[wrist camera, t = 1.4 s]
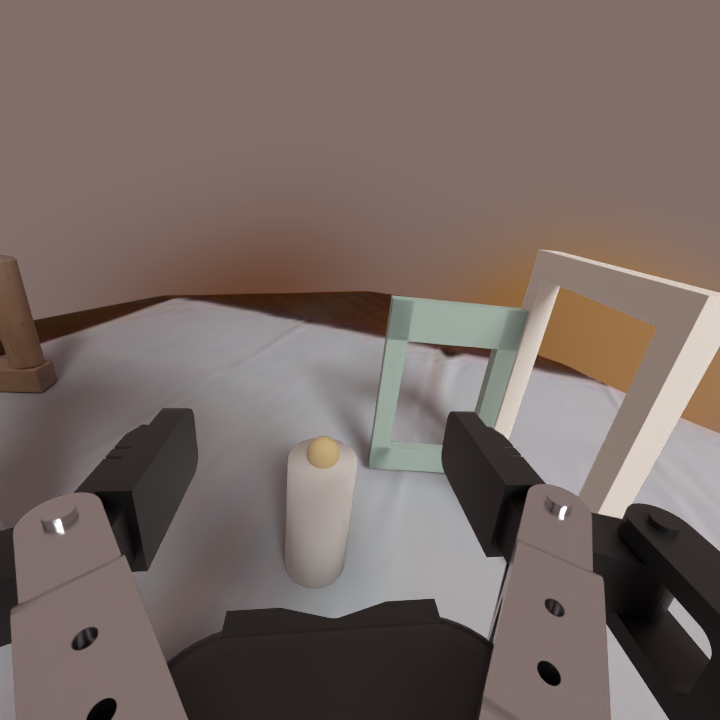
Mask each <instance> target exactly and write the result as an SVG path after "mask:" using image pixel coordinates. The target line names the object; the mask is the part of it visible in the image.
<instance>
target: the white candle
mask: <svg viewBox="0 0 720 720" xmlns="http://www.w3.org/2000/svg"><path fill="white" fill-rule="evenodd" d="M356 470H357V457H356V454H355V453H354V451H353V450H352V449H351V448H350V447H349V446H348V445H346V444H344V443H342V442H340V441H338V440H334V439H332V438H330V437H326V436H322V437H318V438H314V439H309V440H306V441H303V442H301V443H299V444H298V445H296V446H295V447H294V448H293V449H292V450H291V451H290V453H289V456H288V468H287V503H286V538H285V567H286V571H287V573H288V575H289V576H290V578H291V579H292V580H293V581H294V582H296V583H297V584H299V585H301V586H303V587H307V588H321V587H324V586H327V585H329V584H331V583H332V582H334V581H335V580H336V579H337V578H338V577H339V575H340V574H341V572H342V570H343V568H344V563H345V555H346V548H347V540H348V532H349V524H350V517H351V509H352V501H353V493H354V486H355V478H356Z"/></svg>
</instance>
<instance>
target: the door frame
mask: <svg viewBox="0 0 720 720" xmlns="http://www.w3.org/2000/svg"><path fill="white" fill-rule="evenodd" d="M560 286H561V287H563V288H566V289H568V290H570V291H573V292H575V293H578V294H580V295H582V296H585V297H587V298H589V299H592V300H594V301H597V302H599V303H601V304H604V305H606V306H608V307H611V308H613V309H616V310H618V311H620V312H623V313H625V314H628V315H630V316H632V317H635V318H637V319H639V320H642V321H644V322H647V323H649V324H651V325H654V326H656V327H658V328H657V330H656V332H655V334H654V336H653V339H652V341H651V343H650V346H649V347H648V349H647V351H646V353H645V356H644V358H643V360H642V362H641V364H640V366H639V368H638V371H637V373H636V375H635V377H634V379H633V381H632V383H631V385H630V388H629V390H628V392H627V394H626V396H625V398H624V400H623V402H622V405H621V407H620V409H619V411H618V413H617V415H616V417H615V419H614V422H613V424H612V426H611V428H610V430H609V432H608V434H607V436H606V439H605V441H604V443H603V445H602V447H601V449H600V451H599V453H598V456H597V458H596V460H595V462H594V464H593V466H592V468H591V470H590V473H589V475H588V477H587V479H586V481H585V483H584V485H583V487H582V490H581V492H580V494H579V496H578V497H579V498H580V499H581V500H582V501H583V502H584V503H585V504H586V505H587V506H588V508H589V509H590V511H591V512H592V513H597V514H602V515H606V516H611V517H616V518H620V519H622V518H623V516H624V513H625V511H626V509H627V507H628V506H629V505H631V504H632V502H633V500H634V499H635V497H636V495H637V493H638V491H639V490H640V488H641V486H642V484H643V482H644V481H645V479H646V477H647V475H648V474H649V472H650V470H651V468H652V466H653V465H654V463H655V461H656V459H657V457H658V456H659V454H660V452H661V450H662V448H663V447H664V445H665V443H666V441H667V439H668V438H669V436H670V434H671V432H672V430H673V429H674V427H675V425H676V423H677V421H678V420H679V418H680V416H681V414H682V412H683V410H684V409H685V407H686V405H687V404H688V401H689V400H690V398H691V396H692V395H693V393H694V391H695V389H696V387H697V386H698V384H699V382H700V380H701V378H702V376H703V375H704V373H705V371H706V369H707V367H708V366H709V364H710V362H711V360H712V359H713V357H714V355H715V353H716V351H717V349H718V348H719V346H720V293H718V292H714V291H710V290H706V289H702V288H699V287H694V286H691V285H687V284H683V283H679V282H675V281H671V280H667V279H664V278H660V277H656V276H652V275H648V274H644V273H640V272H636V271H632V270H629V269H625V268H621V267H617V266H613V265H609V264H605V263H601V262H597V261H594V260H590V259H586V258H582V257H578V256H574V255H570V254H567V253H562V252H558V251H549V250H539V252H538V255H537V259H536V262H535V265H534V269H533V272H532V275H531V279H530V282H529V285H528V289H527V292H526V295H525V299H524V302H523V305H522V308H524V309H525V310H527V311H528V312H529V315H528V318H527V321H526V324H525V328H524V331H523V334H522V337H521V340H520V344H519V347H518V350H517V353H516V357H515V360H514V363H513V366H512V370H511V373H510V376H509V379H508V382H507V386H506V389H505V392H504V395H503V399H502V402H501V405H500V408H499V411H498V415H497V418H496V421H495V424H494V428H493V429H495V430H496V431H498V432H499V433H501V434H502V435H504V436H505V437H506V438H507V439H509V436H510V433H511V430H512V428H513V425H514V422H515V419H516V416H517V413H518V410H519V407H520V404H521V401H522V398H523V395H524V392H525V389H526V386H527V383H528V380H529V377H530V374H531V371H532V368H533V365H534V362H535V359H536V356H537V353H538V350H539V347H540V344H541V341H542V338H543V335H544V332H545V329H546V326H547V323H548V320H549V317H550V314H551V311H552V308H553V305H554V302H555V299H556V296H557V293H558V290H559V287H560Z"/></svg>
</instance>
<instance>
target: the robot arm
mask: <svg viewBox="0 0 720 720" xmlns="http://www.w3.org/2000/svg"><path fill="white" fill-rule="evenodd" d="M441 461H442V467H443V470H444V473H445V475H446V477H447V479H448V481H449V483H450V485H451V487H452V489H453V491H454V493H455V495H456V497H457V499H458V501H459V503H460V505H461V507H462V509H463V511H464V513H465V515H466V517H467V519H468V521H469V523H470V525H471V527H472V529H473V531H474V533H475V535H476V537H477V539H478V541H479V543H480V545H481V547H482V549H483V551H484V553H485V555H486V557H501V556H503V557H504V558H505V560H506V562H507V563H506V567H505V570H504V574H503V578H502V582H501V586H500V590H499V594H498V598H497V602H496V606H495V610H494V614H493V618H492V622H491V626H490V630H489V634H488V638H487V639H486V638H485V637H483V636H482V635H480V634H479V633H477V632H475V631H474V630H472V629H470V628H468V627H466V626H464V625H462V624H460V623H458V622H455V621H452V620H449V619H446V618H441V617H440V616H439V613H438V609H437V606H436V603H435V600H434V599H422V600H405V601H388V602H384V603H381V604H378V605H375V606H372V607H369V608H366V609H363V610H360V611H357V612H355V613H352V614H349V615H346V616H343V617H340V618H326V617H322V616H317V615H312V614H307V613H303V612H298V611H293V610H288V609H283V608H271V609H254V610H237V611H227V613H226V617H225V621H224V625H223V630H222V631H221V632H218V633H215V634H212V635H210V636H208V637H206V638H204V639H202V640H199V641H198V642H196V643H194V644H193V645H191V646H189V647H187V648H186V649H184V650H183V651H181V652H180V653H179V654H177V655H176V656H174V657H173V658H172V659H170V660H169V661H168V662H167V663H166V661H165V658H164V656H163V653H162V650H161V648H160V645H159V643H158V640H157V637H156V635H155V632H154V629H153V627H152V624H151V622H150V619H149V616H148V614H147V611H146V609H145V606H144V603H143V601H142V598H141V596H140V593H139V590H138V588H137V585H136V582H135V580H134V577H133V575H132V572H137V571H148V569H149V567H150V565H151V563H152V561H153V559H154V557H155V554H156V552H157V550H158V548H159V546H160V544H161V542H162V540H163V538H164V536H165V534H166V532H167V530H168V528H169V526H170V523H171V521H172V519H173V517H174V515H175V513H176V511H177V509H178V507H179V505H180V503H181V501H182V499H183V497H184V495H185V493H186V490H187V488H188V486H189V484H190V482H191V480H192V478H193V476H194V474H195V471H196V467H197V462H198V449H197V440H196V431H195V421H194V414H193V411H192V409H190V408H163V409H162V410H161V411H160V412H159V413H158V415H157V416H156V417H155V418H154V419H153V421H152V422H151V423H150V424H149V425H141V426H139V427H138V428H136V429H134V430H133V431H131V432H129V433H128V434H126V435H125V436H124V437H123V438H122V439H121V440H120V441H119V443H118V444H117V445H116V446H115V449H112V450H111V452H110V453H109V454H108V455H107V456H106V459H103V460H102V462H101V463H100V464H99V465H98V466H97V467H96V468H95V469H94V471H93V472H92V473H91V474H90V475H89V476H88V477H87V478H86V480H85V481H84V482H83V483H82V484H81V485H80V486H79V487H78V489H77V490H76V491H75V492H74V493H70V494H66V495H62V496H59V497H55V498H53V499H50V500H48V501H46V502H44V503H42V504H40V505H38V506H36V507H35V508H33V509H32V510H30V511H29V512H28V513H26V514H25V515H24V516H23V517H22V518H21V519H20V520H19V521H18V523H17V524H16V526H15V527H14V528H11V529H7V528H6V525H5V523H4V520H3V518H2V516H1V513H0V647H1V646H4V645H7V644H10V643H12V658H13V676H14V694H15V712H16V720H611V711H610V691H609V672H608V652H607V633H606V624H607V626H608V627H609V629H610V630H611V632H612V633H613V635H614V636H615V638H616V639H617V641H618V642H619V644H620V645H621V647H622V648H623V650H624V651H625V653H626V654H627V656H628V657H629V659H630V661H631V662H632V664H633V665H634V667H635V668H636V670H637V671H638V673H639V674H640V676H641V677H642V679H643V680H644V682H645V683H646V685H647V686H648V688H649V689H650V691H651V692H652V694H653V696H654V697H655V699H656V700H657V702H658V703H659V705H660V706H661V708H662V709H663V711H664V712H665V714H666V715H667V717H668V718H669V720H720V551H719V550H717V549H716V548H715V547H714V546H713V545H712V544H711V543H709V542H708V541H707V540H706V539H705V538H704V537H703V536H701V535H700V534H699V533H698V532H697V531H696V530H695V529H693V528H692V527H691V526H690V525H689V524H687V523H686V522H685V521H683V520H682V519H680V518H679V517H677V516H675V515H674V514H672V513H670V512H668V511H666V510H663V509H661V508H658V507H655V506H652V505H647V504H640V503H638V504H631V505H629V506H628V507H627V509H626V511H625V513H624V516H623V518H622V519H620V518H616V517H611V516H606V515H602V514H597V513H592V512H591V511H590V509H589V508H588V506H587V505H586V504H585V503H584V502H583V501H582V500H581V499H580V498H579V497H577V496H576V495H574V494H573V493H571V492H569V491H567V490H565V489H563V488H560V487H557V486H554V485H549V484H545V482H544V481H543V480H542V479H541V478H540V477H539V475H538V474H537V473H536V472H535V471H534V470H533V468H532V467H531V466H530V465H529V464H528V463H527V461H526V460H525V459H524V458H523V457H521V454H520V453H519V452H518V451H517V450H516V449H515V448H513V445H512V444H511V443H510V442H509V441H508V439H507V438H506V437H505V436H504V435H502V434H501V433H499V432H498V431H496V430H495V429H493V428H492V427H487V426H486V425H485V424H484V422H483V421H482V420H481V419H480V417H479V416H478V415H477V414H476V413H475V412H455V411H452V412H450V413H449V415H448V419H447V424H446V430H445V435H444V441H443V446H442V452H441ZM674 597H675V598H676V599H677V600H678V601H679V603H680V604H681V605H682V606H683V607H684V608H685V609H686V610H687V612H688V613H689V614H690V615H691V616H692V617H693V618H694V620H695V621H696V622H697V623H698V624H699V625H700V626H701V628H702V629H703V630H704V632H705V633H706V635H707V637H708V639H709V642H710V645H711V650H712V656H711V659H710V660H709V658H708V657H707V656H706V655H705V654H704V652H703V651H702V650H701V649H700V648H699V647H698V645H697V644H696V643H695V642H694V641H693V639H692V638H691V637H690V636H689V635H688V633H687V632H686V631H685V630H684V629H683V627H682V626H681V625H680V624H679V623H678V621H677V620H676V619H675V618H674V617H673V616H672V614H671V613H670V612H669V611H668V610H667V609H668V607H669V606H670V604H671V602H672V600H673V598H674Z"/></svg>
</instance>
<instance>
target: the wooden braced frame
mask: <svg viewBox="0 0 720 720" xmlns="http://www.w3.org/2000/svg"><path fill="white" fill-rule="evenodd" d="M1 341H2V344H3V347H4V350H5V354H6V357H7V358H0V392H28V393H41V392H44V391H45V390H46V389H48V388H49V387H50V386H52V385H53V384H54V383H56V382H57V378H56V374H55V370H54V367H53V363H52V361H51V360H44V357H43V353H42V350H41V346H40V343H39V339H38V335H37V332H36V328H35V325H34V321H33V318H32V314H31V310H30V307H29V304H28V300H27V296H26V293H25V289H24V285H23V282H22V278H21V274H20V271H19V267H18V264H17V260H16V259H15V258H14V257H11V256H4V255H0V342H1Z"/></svg>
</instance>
